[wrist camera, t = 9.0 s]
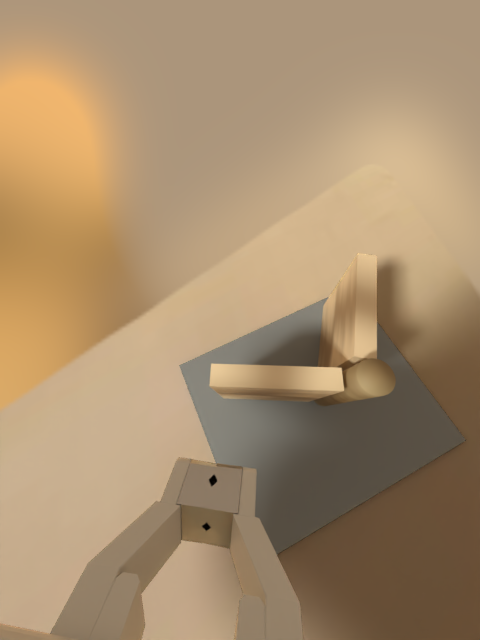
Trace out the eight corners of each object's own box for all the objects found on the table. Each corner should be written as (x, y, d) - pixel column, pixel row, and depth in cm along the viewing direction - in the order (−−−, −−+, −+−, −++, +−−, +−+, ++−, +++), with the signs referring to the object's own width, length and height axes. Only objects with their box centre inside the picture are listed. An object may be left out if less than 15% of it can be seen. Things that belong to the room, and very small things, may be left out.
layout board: (461, 440, 19) (466, 440, 19) (255, 564, 17) (255, 567, 16) (349, 288, 24) (351, 286, 24) (180, 366, 22) (179, 365, 22)
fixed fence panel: (333, 408, 20) (396, 399, 11) (310, 403, 20) (356, 391, 12) (339, 308, 23) (391, 244, 15) (320, 305, 23) (360, 239, 15)
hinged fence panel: (307, 386, 20) (341, 367, 13) (309, 401, 20) (344, 390, 13) (224, 383, 21) (211, 363, 13) (223, 398, 20) (209, 386, 13)
